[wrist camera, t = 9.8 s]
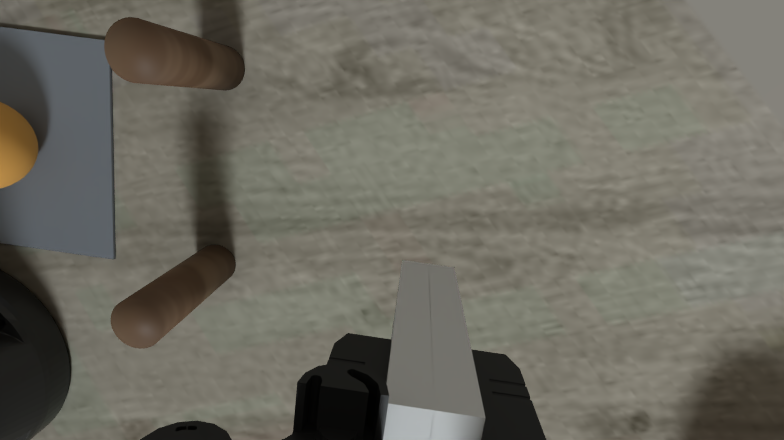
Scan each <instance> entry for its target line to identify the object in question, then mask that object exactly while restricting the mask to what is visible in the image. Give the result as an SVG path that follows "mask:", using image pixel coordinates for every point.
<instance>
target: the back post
mask: <svg viewBox="0 0 784 440" xmlns="http://www.w3.org/2000/svg"><path fill="white" fill-rule="evenodd" d="M234 271H235V259H234V257H233V255H232V254H231V252H230V251H229V250H228V249H226V248H225V247H223V246H220V245H209V246H206V247H205V248H203V249H202V250H200V251H198V252H197V253H195V254H194V255H192V256H191V257H189V258H188V259H186V260H185V261H183V262H182V263H180V264H179V265H177V266H175V267H174V268H172V269H171V270H169V271H168V272H166V273H165V274H163V275H162V276H160V277H159V278H157V279H155V280H154V281H152V282H151V283H149V284H148V285H146V286H145V287H143V288H142V289H140V290H139V291H137V292H136V293H134V294H132V295H131V296H129V297H128V298H126V299H125V300H123V301H122V302H120V303H119V304H117V305H116V306H115V308H114V309H113V311H112V314H111V326H112V329H113V331H114V333H115V334H116V336H117V337H118V338H119V339H120V340H121V341H122V342H123V343H125V344H127V345H129V346H131V347H134V348H148V347H151V346H153V345H154V344H156V343H157V342H158V341H159V340H160V339H161V338H162V337H164V336H165V335H166V334H167V333H168V332H169V331H170V330H171V329H173V328H174V327H175V326H176V325H177V324H178V323H179V322H180V321H181V320H183V319H184V318H185V317H186V316H187V315H188V314H189V313H190V312H192V311H193V310H194V309H195V308H196V307H197V306H198V305H199V304H201V303H202V302H203V301H204V300H205V299H206V298H207V297H208V296H210V295H211V294H212V293H213V292H214V291H215V290H216V289H217V288H218V287H220V286H221V285H222V284H223V283H224V282H225V281H226V280H227V279H229V278H230V277H231V276H232V275H233V273H234Z"/></svg>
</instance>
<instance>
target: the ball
mask: <svg viewBox="0 0 784 440" xmlns="http://www.w3.org/2000/svg"><path fill="white" fill-rule="evenodd" d="M37 155H38V141H37V137H36V135H35V132H34V130H33V128H32V127H31V125H30V124H29V122H28V121H27V120H26V119H25V118H24V117H23V116H22V115H21V114H20V113H18V112H17V111H16V110H14V109H13V108H11V107H10V106H8V105H6V104H4V103H1V102H0V188H4V187H7V186H10V185H12V184H14V183H16V182H18V181H19V180H21V179H22V178H24V177H25V176H26V175H27V174H28V173H29V172H30V170H31V169H32V168H33V166H34V164H35V162H36V159H37Z"/></svg>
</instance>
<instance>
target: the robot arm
mask: <svg viewBox="0 0 784 440" xmlns="http://www.w3.org/2000/svg"><path fill="white" fill-rule="evenodd" d="M69 382H70V365H69V358H68V353H67V349H66V346H65V343H64V340H63V338H62V335H61V333H60V331H59V329H58V327H57V325H56V323H55V322H54V320H53V318H52V317H51V315H50V314H49V312H48V311H47V310H46V308H45V307H44V306H43V305H42V304H41V302H40V301H39V300H38V299H37V298H36V297H35V296H34V295H33V294H32V293H31V292H30V291H29V290H28V289H27V288H25V287H24V286H23V285H22V284H20V283H19V282H18V281H16V280H15V279H14V278H12V277H10V276H9V275H7V274H6V273H4V272H2V271H0V440H30V439H32V438H33V437H34V436H35V435H36V434H37V433H39V432H40V431H41V430H42V429H43V428H45V427H46V426H47V425H48V424H49V423H50V422H51V421H52V420H53V419H54V418H55V417H56V415H57V414H58V413H59V411H60V409H61V408H62V406H63V404H64V401H65V399H66V396H67V392H68V388H69ZM140 440H232V439H231V438H230V436H229V434H228V433H227V431H225V430H223V429H222V428H220V427H218V426H217V425H215V424H212V423H206V422H201V421H188V422H177V423H174V424H171V425H168V426H165V427H162V428H158V429H157V430H155V431H153V432H152V433H150V434H148V435H147V436H145V437H144V438H142V439H140ZM282 440H546V438H545V435H544V433H543V430H542V427H541V425H540V422H539V419H538V417H537V414H536V411H535V409H534V406H533V403H532V401H531V400H530V395H529V393H528V390H527V387H525V382H524V379H523V377H522V374H521V371H520V369H519V368H518V367H517V366H516V365H515V364H514V363H513V362H512V361H511V360H510V359H509V358H508V357H507V356H506V355H505V354H498V353H491V352H484V351H478V350H471V345H470V340H469V335H468V330H467V325H466V321H465V316H464V311H463V306H462V301H461V296H460V291H459V287H458V282H457V277H456V272H455V267H449V266H442V265H435V264H428V263H421V262H414V261H407V260H402V265H401V273H400V280H399V287H398V294H397V301H396V308H395V315H394V323H393V330H392V337H391V339H384V338H377V337H370V336H363V335H357V334H350V333H348V334H346V335H345V336H344V337H342V338H341V339H340V340H338V341H337V342H336V343H334V346H333V349H332V352H331V354H330V357H329V360H328V362H327V365H322V366H318V367H316V368H314V369H312V370H310V371H308V372H306V373H305V374H304V375H303V376H302V377H301V379H300V380H299V381H298V382H297V394H296V405H295V416H294V428H293V433H292V435H290V436H288V437H287V438H285V439H282Z"/></svg>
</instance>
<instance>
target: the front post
mask: <svg viewBox="0 0 784 440" xmlns="http://www.w3.org/2000/svg"><path fill="white" fill-rule="evenodd" d="M104 50H105V56H106V59H107V61H108V63H109V65H110V67H111V68H112V70H113V71H114V72H115V73H116V74H117V75H118V76H120V77H121V78H123V79H124V80H126V81H129V82H133V83H142V84H154V85H166V86H178V87H191V88H203V89H215V90H231V89H233V88H235V87H237V86H238V85H239V84H240V83H241V81H242V79H243V77H244V72H245V68H244V62H243V60H242V58H241V56H240V55H239V53H238V52H237V51H236V50H234V49H233V48H231V47H229V46H225V45H222V44H219V43H216V42H213V41H209V40H206V39H203V38H200V37H197V36H193V35H190V34H187V33H184V32H180V31H177V30H174V29H171V28H168V27H164V26H161V25H158V24H155V23H151V22H148V21H145V20H142V19H139V18H133V17H128V18H123V19H120V20H118V21H117V22H115V23H114V24H113V25H112V26H111V27H110V28H109V30H108V32H107V34H106V37H105V42H104Z"/></svg>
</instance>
